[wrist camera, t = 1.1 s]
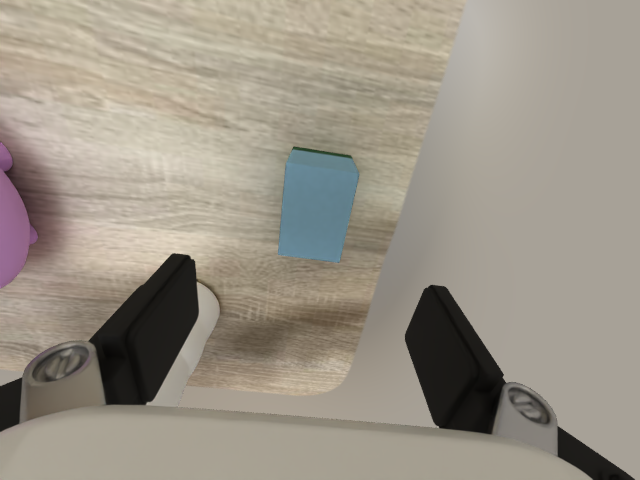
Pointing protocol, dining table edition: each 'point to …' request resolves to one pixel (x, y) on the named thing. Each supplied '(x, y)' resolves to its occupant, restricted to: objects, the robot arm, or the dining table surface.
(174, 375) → the water bottle
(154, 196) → the dining table surface
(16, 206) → the teapot
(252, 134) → the dining table surface
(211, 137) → the dining table surface
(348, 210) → the sponge
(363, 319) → the dining table surface
